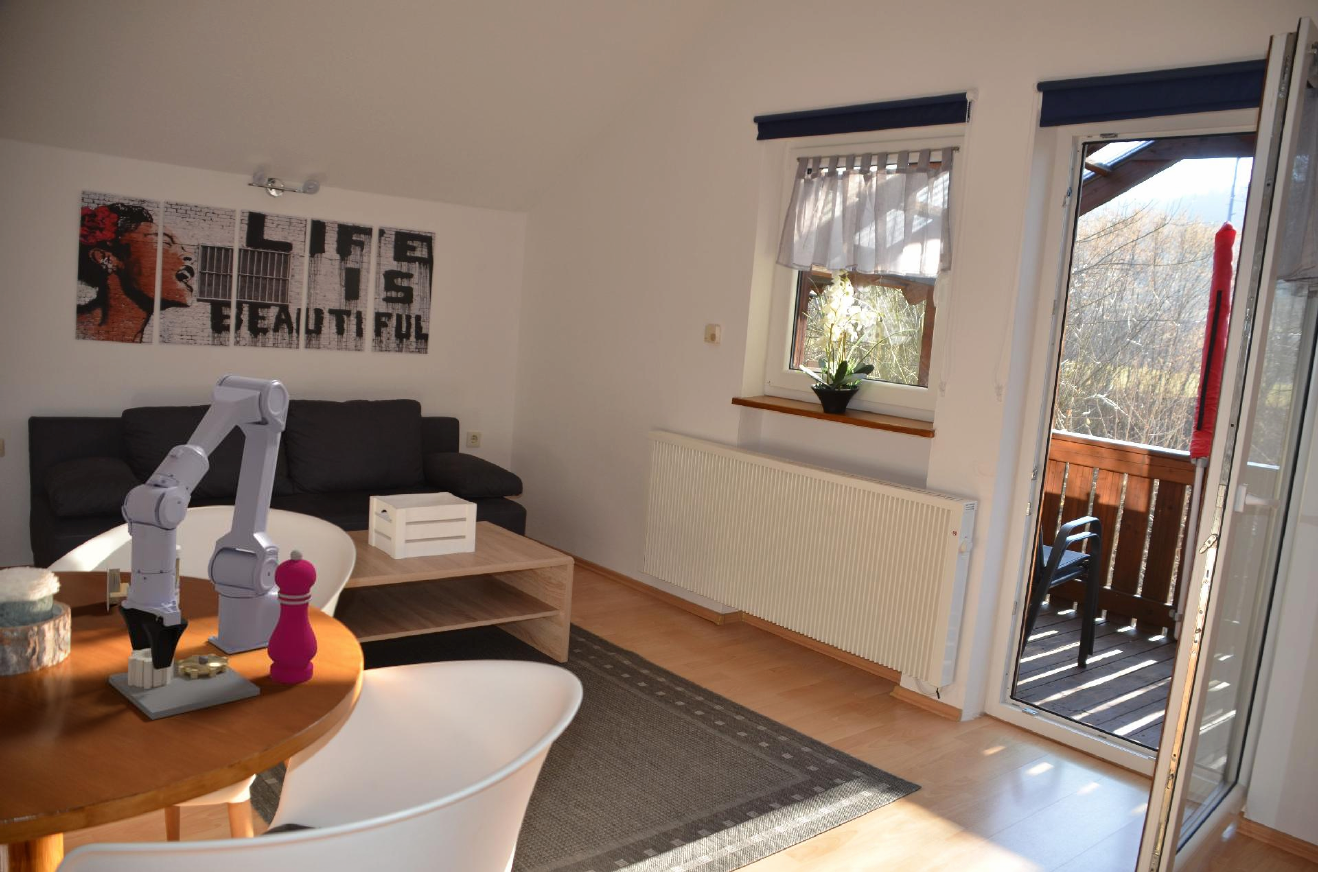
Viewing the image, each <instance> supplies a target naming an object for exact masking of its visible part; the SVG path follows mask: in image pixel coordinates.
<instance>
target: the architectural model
mask: <svg viewBox="0 0 1318 872" xmlns="http://www.w3.org/2000/svg"><path fill="white" fill-rule="evenodd" d="M106 568H107V572H106V574H107V576H106V577H107V578H106V580H107V581H106V609H107V612H110V606H111V605H119V601H120V598H121V597H127V586H130V584H129V582H122V583H121V575H120V574H121V573H120V571H121V568H110V564H109V563H107V565H106Z"/></svg>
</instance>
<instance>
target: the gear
mask: <svg viewBox="0 0 1318 872" xmlns="http://www.w3.org/2000/svg"><path fill="white" fill-rule="evenodd" d="M174 658H175V657H173V660H172V663H171V666H170V667H167V668H162V669H157V670H156V669H154V666H153V663H152V656H151V648H150V649H149V648H148V649H142V650H139V651H138V650H134V651H133V650H132V651H131V655H130V656H129V657H128V658H127V659H128V660H127V666H128V667H127V672H128V685H129V686H132V685H135V686H138V687H144V689H150V688H151V687H152V686H153V687H156V686H161V685H168V684H170V683H171V677H173V667H174V663H175V661H174Z"/></svg>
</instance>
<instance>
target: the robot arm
mask: <svg viewBox="0 0 1318 872" xmlns="http://www.w3.org/2000/svg"><path fill="white" fill-rule="evenodd" d="M290 397H291V396H290V394H289V393H288V391H287V389H286V387H285V385H284V384H283V383H282V382H281V381H280V380H279V379H262V378H261V379H260V378H256V377H254V378H253V377H246V376H240V375H238V376H237V375H234V374H230V373H229V374H228V373H227V374H225V375H223V376H221V377H220V378H219V380H217V383H216V384H215V386H214V387H213V388H212V389H211V392H210V403H211V405H210V407H209V409H208V410H207V412H206V413H205V414H204V416H203V418H202V419H201V421H200V422H199V424H198V425H197V427H196V429H195V431H193V433H192V435H191V436H190V438H189V439H188V441H187V443H186V444H180V445H176V446H174V447H173V448H171V450H170V451H169V452H168V454H167V455H166V457H165V458H164V459H163V461H162V462H161V463H160V465H159V466H158V467H157V468H156V470H155V471H154V472H153V473H152V475H151V476H150V477H149V479H148V480H147V481H146V482H145V484H144V483H143V484H140V485H137V486H135V487H134V488H132V489H130V490H129V492H128V493H127V495H126V497H125V499H124V501H123V502H124V504H123V505H122V506H121V513H122V517H123V519H124V520H125V522H126V524H127V533H128V535H129V536H130V537H131V557H130V558H131V560H130V562H131V563H130V566H131V567H130V568H131V569H130V571H131V572H130V585H129V586H127V596H126V599H124V600H122V601H121V604H119V605H118V606H117V610H118V611H119V613H120V615H121V616H122V618H123V621H124V623H125V626H126V628H127V633H128V636H129V641H130V645H131V649H132V651H134V650H138V651H139V650H142V649H148V648H149V649H150V648H151V656H152V663H153V666H154V669H156V670H157V669H162V668H167V667H170V666H171V663H172V660H173V657H174V656H175V653H176V649H177V646H178V643H179V642H180V639H181V637H182V635H183V634H184V632H185V631H186V629H187V627H188V625H189V621H188V620H187V619H186V618H184V617H183V618H181V617H182V612H181V610H180V608H179V609H178V606H177V597H176V596H175V575H176V545H177V534H178V533H177V528H178V526H179V525H180V524H181V523H182V522H183V521H184V520H185V518H186V516H187V513H188V506H189V503H190V501H191V498H192V496H191V494H192V492H194V490H195V489H196V487H197V486H198V484H199V483H200V482H201V480H202V479H203V477H204V476H205V474H207V472H208V471H209V469H210V463H209V460H208V457H209V456H210V455H211V453H213V451H215V449H216V448H217V447H219V445H220V444H221V442H223V440H224V439H225V438H226V437H227V436H228V434H230V432H231V431H232V430H233V429H234V428H235V426H238V427H239V428H240V429H241V431H242V433H243V434H244V436H245V440H244V446H243V453H242V459H241V464H240V465H241V466H240V470H239V471H240V473H239V478H238V483H237V484H238V485H237V489H236V496H235V504H234V507H233V508H234V510H233V516H232V521H231V522H232V523H231V528H230V531H229V532H227V533H226V534H224V535H223V536H221V537H220V538H218V539H216V541H215V546H214V549H213V553H212V555H211V557H210V559H209V561H208V564H207V575H208V579H209V581H210V583H211V584H212V585H214V591H215V592H218V616H217V618H218V621H217V635H212V636H208V637H207V642H208V641H209V642H210V643H212V644H213V645H214V646H216V647H217V648H218V649H220V650H222V651H223V652H224V653H226V654H228V655H229V654H230V655H231V654H236V653H241V652H245V651H250V650H255V649H260V648H266V647H267V648H268V643H269V640H270V637H271V635H272V633H273V631H274V629H275V627H276V625H277V623H278V621H279V617H280V609H281V608H280V602H279V601H278V600H277V597H278V594H277V592H278V591H279V589H278V588H277V587H275V585H276V583H275V571H276V569H277V567H278V566H279V565H280V564H279V552H280V551H279V550H280V548H279V546H278V545H277V544H276V543H275V542H274V541H273V540H272V539H271V538H270V537H269V536H268V535H267V534H266V532H267V526H268V525H267V524H268V520H269V514H270V513H269V512H270V506H271V501H272V493H273V487H274V480H275V475H276V468H277V461H278V455H279V449H280V441H281V437H282V432H284V431H285V429H286V421H287V416H288V410H289V405H290V404H289V403H290ZM157 616H158V617H157ZM156 618H157V620H156ZM174 658H175V657H174Z"/></svg>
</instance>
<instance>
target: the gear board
mask: <svg viewBox="0 0 1318 872" xmlns="http://www.w3.org/2000/svg"><path fill="white" fill-rule="evenodd" d="M228 660H229V659H228V657H226V656H219V655H216V653H210V654H202V655H201V654H200V655H198V654H193V655H190V657H187V658H185V659H180V660H179V661H176V662H175V661H174V667H173V677H171V683H170V684H168V685H161V686H156V687H153V686H152V687H151V688H150V689H144V687H138V686H135V685H132V686H129V685H128V671H124V672H120V673H115V674H111V675H110V674H109V675H108V683H109V684H111V686H113V687H114V688H115V689H116V690H117V691H118V692H120V693H121V694H122V695H123V696H124V697H125V698H127V699H128V700H129V701H130V702H131V703H132V704H133V705H134V706H135V707H137V708H138V709H139V710H140V711H141V712H143V713H144V715H146V716H147V717H149V719H151V720H152V721H153V720H157V719H162V718H167V717H171V716H175V715H179V714H182V713H187V712H191V711H197V710H200V709H205V708H208V707H213V706H217V705H222V704H225V703H229V702H233V701H239V700H242V699H247V698H251V697H256V696H260V691H261V690H260V689H261V688H260V687H259V686H258V685H256V684H254V682H252V681H250V680H248V679H247V678H245V677H244V675H242V674H240V673H239V672H237V671H236V670H235V669H233V668H232V667H230V666H229V661H228Z"/></svg>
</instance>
